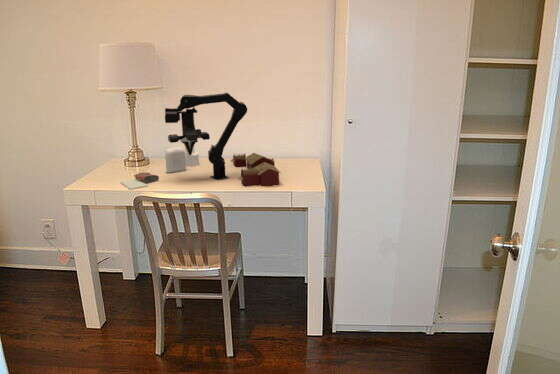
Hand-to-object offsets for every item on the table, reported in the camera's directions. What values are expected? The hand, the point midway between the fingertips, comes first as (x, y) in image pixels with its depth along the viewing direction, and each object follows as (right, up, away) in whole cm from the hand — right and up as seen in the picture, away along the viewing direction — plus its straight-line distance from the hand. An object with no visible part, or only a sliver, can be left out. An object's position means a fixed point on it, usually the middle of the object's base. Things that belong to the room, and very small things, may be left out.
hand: (190, 154), depth 226 cm
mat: (-25, -14, -5) cm, 29 cm away
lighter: (-18, -11, -2) cm, 21 cm away
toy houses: (+30, -9, +12) cm, 33 cm away
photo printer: (-10, -7, +18) cm, 22 cm away
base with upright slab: (-5, -3, +31) cm, 31 cm away
